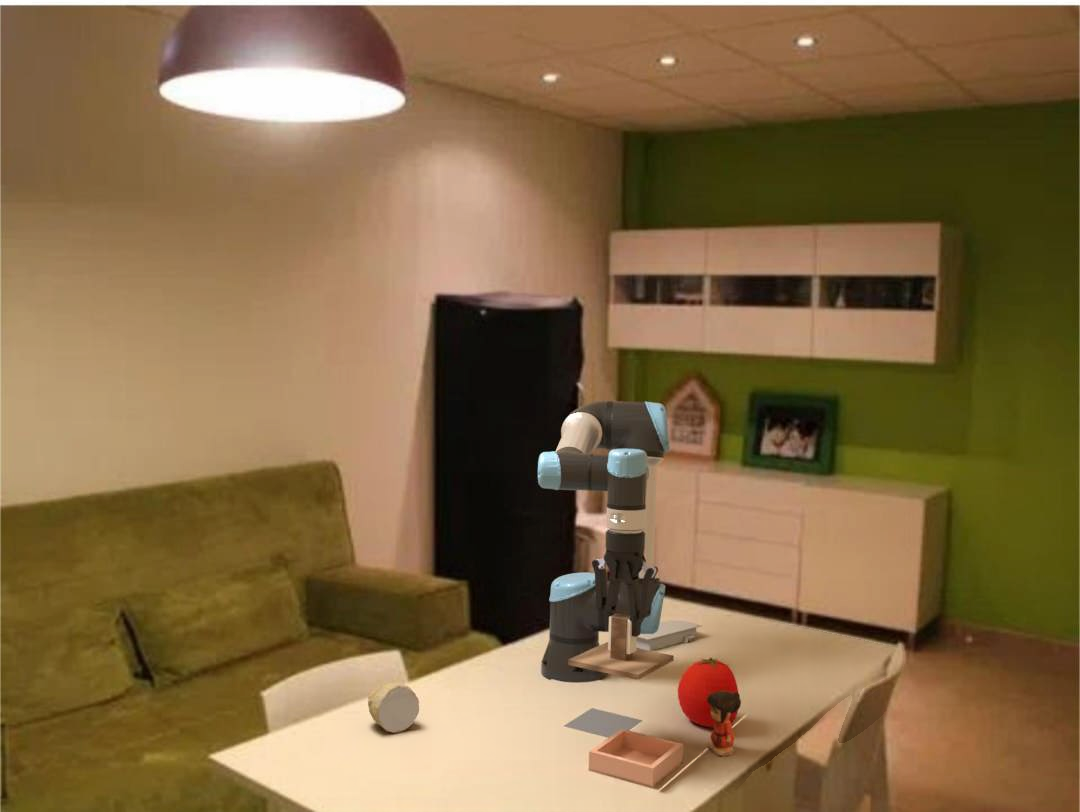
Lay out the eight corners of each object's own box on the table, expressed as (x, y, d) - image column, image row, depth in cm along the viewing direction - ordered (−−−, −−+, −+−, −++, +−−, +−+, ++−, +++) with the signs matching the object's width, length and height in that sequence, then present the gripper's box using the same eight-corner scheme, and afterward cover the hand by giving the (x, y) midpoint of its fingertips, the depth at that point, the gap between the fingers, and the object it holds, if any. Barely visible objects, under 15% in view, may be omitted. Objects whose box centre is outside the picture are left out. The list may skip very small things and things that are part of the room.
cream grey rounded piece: (379, 708, 202) (364, 674, 210) (376, 746, 207) (362, 711, 215) (425, 698, 206) (409, 664, 214) (422, 735, 211) (406, 701, 219)
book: (709, 640, 275) (710, 625, 275) (649, 657, 260) (649, 641, 260) (666, 626, 287) (667, 612, 287) (606, 641, 272) (606, 627, 272)
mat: (563, 727, 213) (563, 725, 212) (591, 709, 223) (591, 708, 223) (615, 741, 206) (615, 739, 206) (642, 722, 216) (642, 720, 216)
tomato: (746, 723, 217) (748, 657, 216) (726, 741, 207) (729, 672, 206) (689, 710, 223) (691, 646, 222) (668, 728, 214) (670, 660, 212)
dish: (588, 772, 192) (589, 751, 191) (620, 748, 203) (621, 728, 202) (652, 790, 185) (653, 768, 185) (682, 764, 196) (683, 744, 196)
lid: (568, 664, 199) (569, 618, 198) (606, 647, 211) (607, 603, 211) (638, 680, 191) (639, 631, 190) (673, 660, 203) (675, 615, 203)
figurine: (716, 741, 207) (718, 682, 206) (741, 749, 204) (744, 689, 203) (700, 751, 202) (702, 691, 201) (725, 759, 199) (728, 698, 198)
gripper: (579, 527, 201) (575, 647, 202) (655, 537, 192) (651, 662, 193) (598, 522, 207) (594, 639, 208) (672, 532, 198) (668, 653, 200)
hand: (622, 650), depth 201 cm, fingers closed on lid, 3 cm apart
